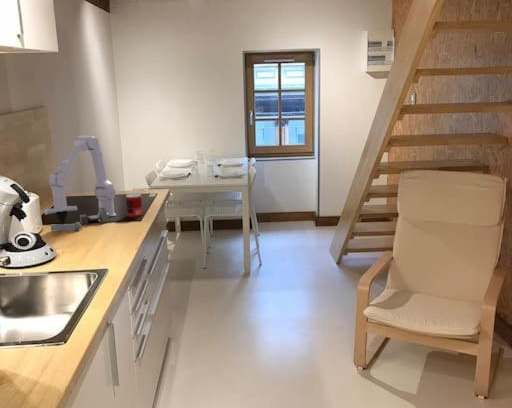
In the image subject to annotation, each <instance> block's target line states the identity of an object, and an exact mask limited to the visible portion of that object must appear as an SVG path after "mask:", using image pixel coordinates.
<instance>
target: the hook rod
mask: <svg viewBox="0 0 512 408" xmlns="http://www.w3.org/2000/svg"><path fill="white" fill-rule="evenodd" d="M110 217H111V216H110V215H109V214H108V213H107V218H108V219H109V218H110ZM98 219H102V217H101V215H98V214H96V215H88V216H87V214H86V213H85V214H79V222H80V225H81V226H83V225H88V224H89V221H93V220H98Z"/></svg>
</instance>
